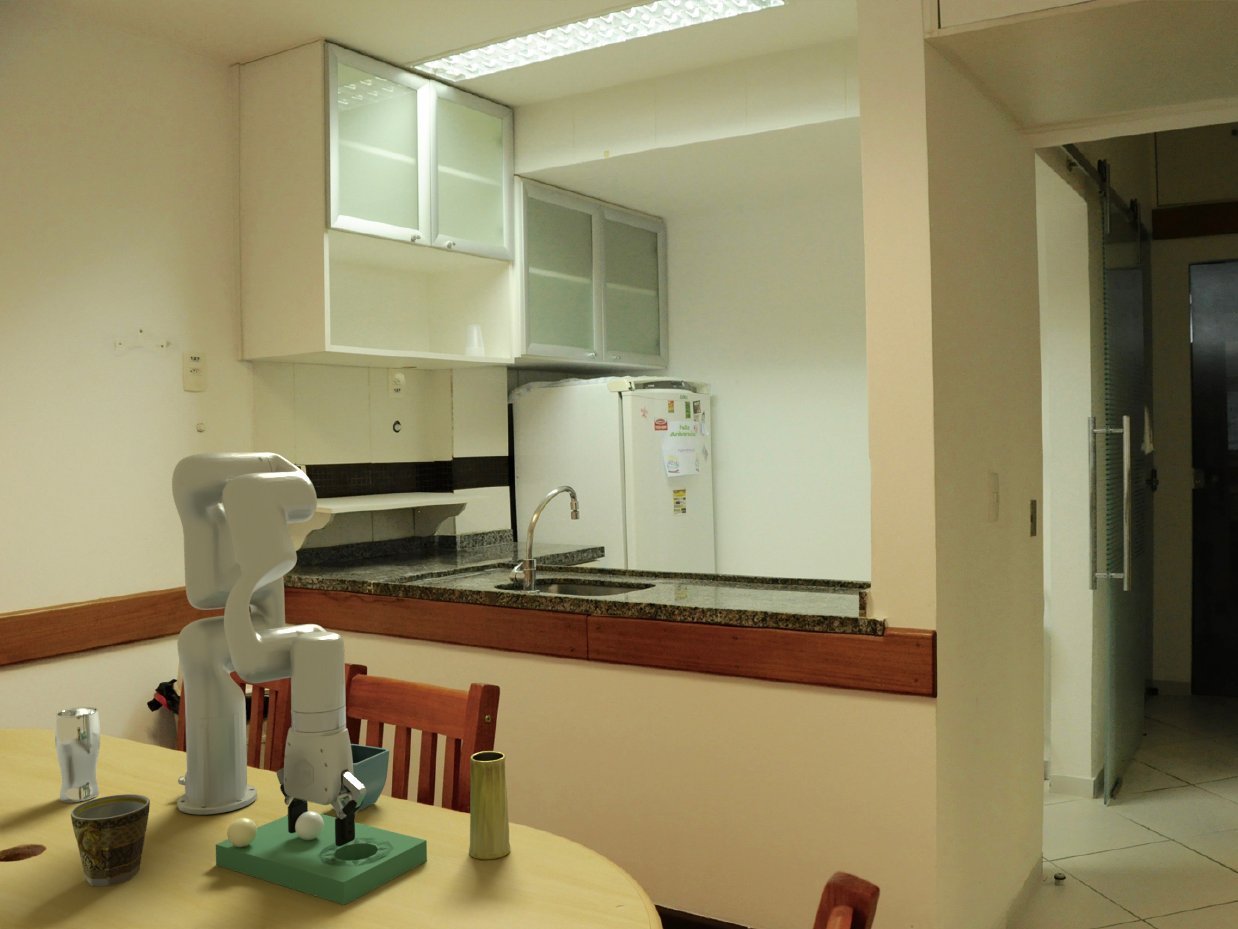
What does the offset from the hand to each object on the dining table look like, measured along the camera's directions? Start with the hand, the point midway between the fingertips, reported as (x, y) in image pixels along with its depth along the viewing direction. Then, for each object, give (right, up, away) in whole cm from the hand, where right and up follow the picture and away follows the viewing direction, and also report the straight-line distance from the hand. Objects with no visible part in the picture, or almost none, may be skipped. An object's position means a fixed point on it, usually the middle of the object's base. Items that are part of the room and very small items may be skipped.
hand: (321, 836), depth 146 cm
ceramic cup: (-29, -5, -5) cm, 29 cm away
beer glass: (-51, -4, +30) cm, 59 cm away
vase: (+24, -4, +3) cm, 25 cm away
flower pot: (-1, -4, +23) cm, 23 cm away
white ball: (-2, +1, +1) cm, 3 cm away
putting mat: (0, -4, 0) cm, 4 cm away
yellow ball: (-11, +1, -1) cm, 11 cm away
